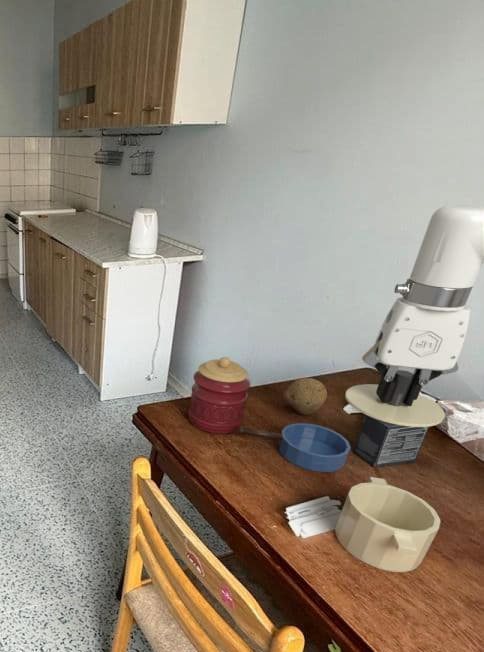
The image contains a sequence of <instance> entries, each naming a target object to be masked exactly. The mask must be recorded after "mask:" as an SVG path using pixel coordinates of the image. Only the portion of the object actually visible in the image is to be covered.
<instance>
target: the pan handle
mask: <svg viewBox="0 0 484 652" xmlns="http://www.w3.org/2000/svg"><path fill="white" fill-rule="evenodd" d="M237 430H238V433H239V434H240V435H244V436H250V437H256V438H263V439H270V440H276V441H279V440H281V439H282V434H281V432H276V431H275V432H274V431H268V430H262V429H255V428H249V427H243V426H240V427H239V428H238V429H237Z"/></svg>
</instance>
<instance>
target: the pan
mask: <svg viewBox="0 0 484 652" xmlns="http://www.w3.org/2000/svg"><path fill="white" fill-rule="evenodd" d="M280 433H281V434H282V439H281V440H278V443H277V445H278V446H277V449H278V452H279V454H280V455H281V457H283V458H284V459H285V460H286V461H288V462H290V463H291V464H292V465H295V466H297V467H299V468H302V469H304V470H309V471H312V472H317V473H333V472H338V471H339V470H341V469H343V468H344V467H345V465H346V462H347V460H348V457H349V455H350V453H351V449H352V448H351V445H350V442H349V440H347V439H346V437H344V436H343V435H342V434H341V433H338V432H336V431H335V430H333V429H331V428H328V427H324V426H322V425H320V424H319V425H318V424H313V423H305V422H302V423H300V422H299V423H291V424H288V425H285V426H284V427H283V428H282V430H281V431H280Z"/></svg>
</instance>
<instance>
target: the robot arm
mask: <svg viewBox="0 0 484 652" xmlns="http://www.w3.org/2000/svg"><path fill="white" fill-rule="evenodd" d="M423 236H424V237H423V239H422V242H421V244H420V248H419V250H418V253H417V256H416V258H415V260H414V261H415V262H414V265H413V268H412V270H411V272H410V276H409V278H407V279H406V282H405V283H402V284H401V283H400V284H399V283H397V284H395V286H394V291H393V292H394V294H400V295H401V296H402V297H398V298H397V299H395V302H394V303H393V305H392V306H391V307H390V310H389V311H388V313H387V315H386V317H385V318H384V320H383V323H382V325H381V327H380V329H379V331H378V334H377V336H376V339H375V341H374V344H373V346H372V347H371V348H369V350H367V352H366V353H364V355H363V356H362V357H361V360H362V361H363V363H364V364H366V365H368V366H370V367H371V368H374V369H375V370H376V371H377V372H378V373H379V375H380V380H379V382H378V384H377V385H378V388H377V391H376V394H377V395H378V397H379V398H380V400H381V401H382V403H388V402H389V399H390V397H391V394H392V392H393V389H394V386H395V382H394V376H395V374H396V372H397V370H399V368H408V369H414V371H413V374H414V378H413V381H412V383H411V386H410V388H409V391H408V393H407V396H406V398H405V401H404V404H405V405H406V406H412V403H413V401H414V400H416V399H417V398H418V395H420V393H421V390H422V388H423V386H426V385H428V384H429V382H430V381H432V380H434V379H436V378H438V377H440V376H441V375H448V374H452V373H453V374H454V373H456V372H457V371H458V370H459V365H458V359H459V357H460V354H461V352H462V349H463V346H464V342H465V340H466V336H467V333H468V328H469V323H470V319H471V311H472V307H470V306H469V305H467V302H468V300H469V297H470V295H471V292H472V290H473V287H474V286H475V283H476V280H477V278H478V275H479V274H480V271H481V270H482V267H483V264H484V206H482V205H470V204H469V205H468V204H467V205H465V204H454V205H445V206H441V207H440V208H437V209H436V210H435V211H434V212H433V214H432V215H431V217H430V220H429V222H428V225H427V228H426V230H425V234H424V235H423Z"/></svg>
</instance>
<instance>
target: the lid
mask: <svg viewBox="0 0 484 652" xmlns="http://www.w3.org/2000/svg"><path fill="white" fill-rule="evenodd" d="M413 378H414V372H410V371H408V370H403V369H398V370H397V372H396V374H395V376H394V382H395V386H394V389H393V392H392V394H391V397H390V399H389V402H388V403H382V401H381V400H380V398H379V397H378V395H377V394H376V391H377V388H378V385H379V384H374V383H373V384H372V383H366V384H364V383H363V384H357V385H352V386H351V387H349V388H348V389H347V390H346V391H345V394H344V398H345V401H346V402H347V403H348V404H349V406H351V407H352V408H353V409H355V410H356V411H358V412H360V413H361V414H364V415H365V416H366V415H368V416H370V417H373V418H375V419H378V420H381V421H385V422H388V423H392V424H397V425H403V426H410V427H429V426H430V427H433V426H437V425H440V424H441V423H442V422H443V421H444V419H445V417H446V413H445V411H444V409H443V408H442V407H441V405H439V404H438V403H437V402H435V401H433V400H431V399H430V398H428V397H427V396H424V395H423V394H422V395H421V394H419V395H418V398H417V399H416V400H414V401H413V403H412V406H406V405H405V404H404V401H405V398H406V396H407V393H408V391H409V388H410V386H411V383H412V381H413ZM430 427H429V428H430Z"/></svg>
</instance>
